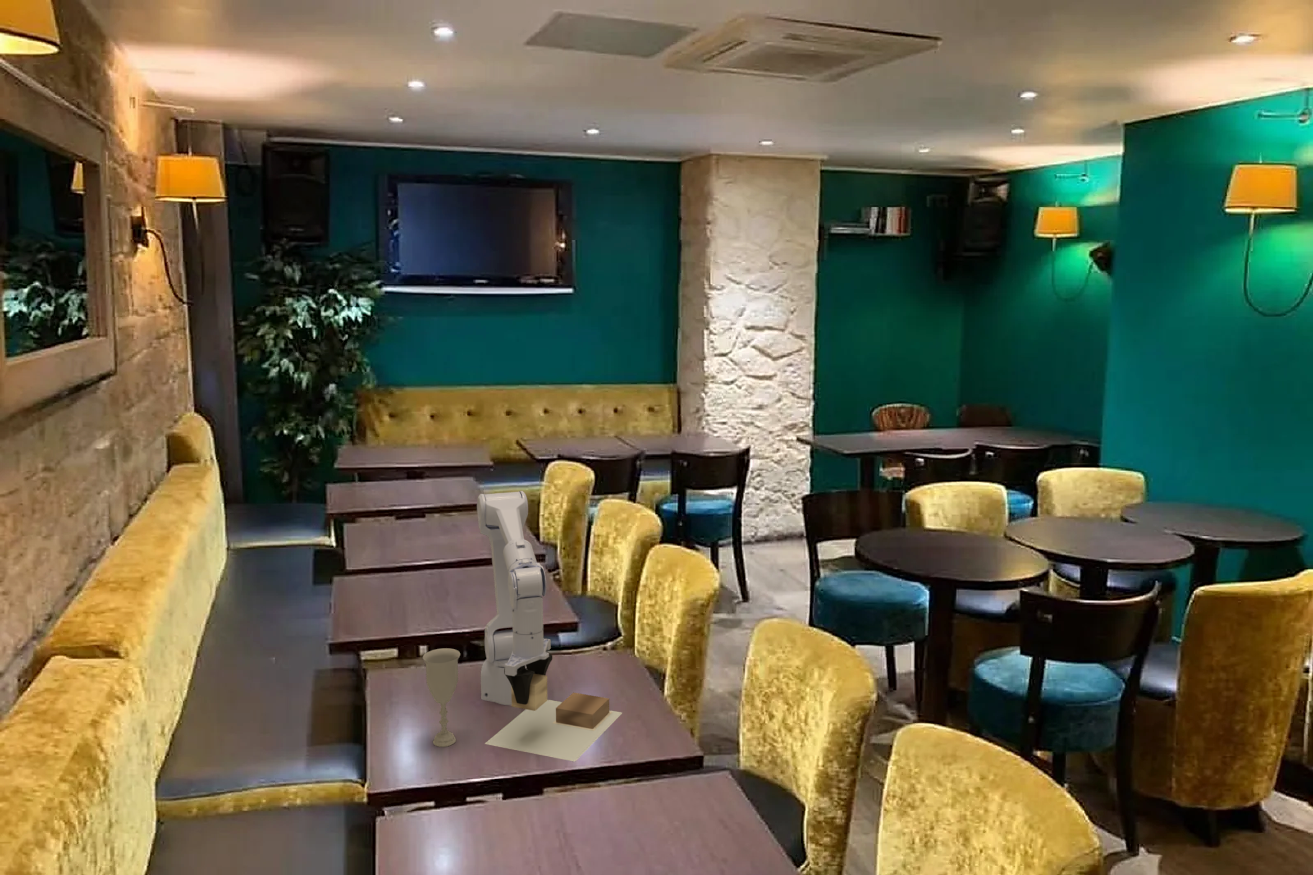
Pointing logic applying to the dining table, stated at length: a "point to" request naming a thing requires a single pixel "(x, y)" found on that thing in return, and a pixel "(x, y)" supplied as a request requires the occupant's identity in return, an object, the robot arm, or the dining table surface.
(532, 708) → the light wooden cube
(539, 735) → the plain cream board
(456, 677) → the chalice
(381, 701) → the dining table surface
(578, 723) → the walnut slab
